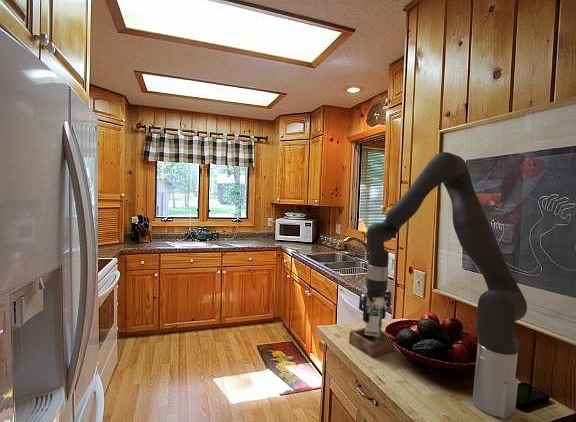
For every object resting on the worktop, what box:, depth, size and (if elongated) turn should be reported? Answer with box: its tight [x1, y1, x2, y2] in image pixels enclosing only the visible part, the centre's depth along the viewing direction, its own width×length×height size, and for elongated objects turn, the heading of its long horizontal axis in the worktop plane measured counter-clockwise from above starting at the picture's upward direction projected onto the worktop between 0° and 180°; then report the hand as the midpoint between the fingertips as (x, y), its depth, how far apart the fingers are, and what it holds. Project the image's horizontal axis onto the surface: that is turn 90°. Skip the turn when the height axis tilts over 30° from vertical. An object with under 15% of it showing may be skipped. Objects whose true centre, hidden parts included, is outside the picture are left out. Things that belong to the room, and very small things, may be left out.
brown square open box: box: [348, 327, 397, 359], centre depth 122 cm, size 12×12×4 cm
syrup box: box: [364, 296, 383, 337], centre depth 121 cm, size 6×6×14 cm
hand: (374, 320), depth 121 cm, fingers closed on syrup box, 8 cm apart
